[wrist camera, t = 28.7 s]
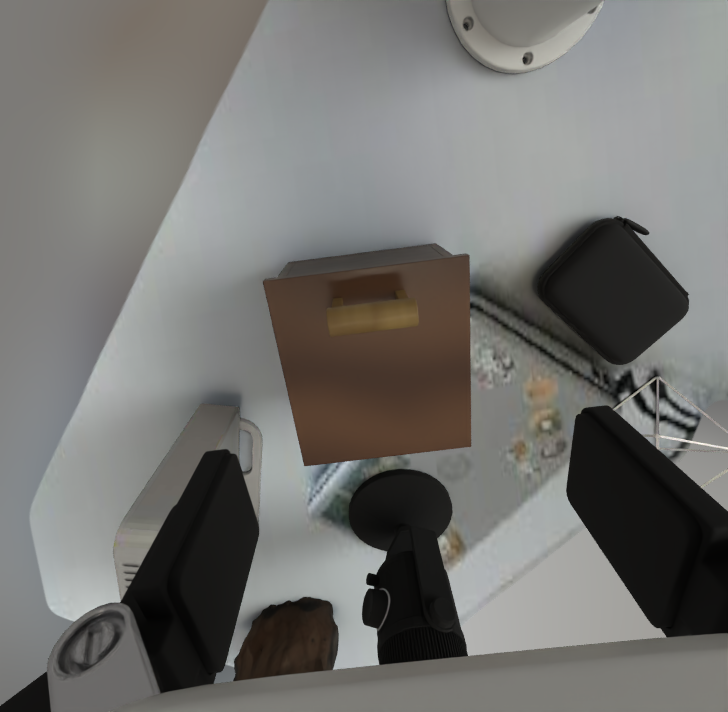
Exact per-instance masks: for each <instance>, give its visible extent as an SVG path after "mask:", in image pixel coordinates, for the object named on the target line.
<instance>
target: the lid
mask: <svg viewBox="0 0 728 712" xmlns="http://www.w3.org/2000/svg"><path fill="white" fill-rule="evenodd" d="M263 285H264V290H265V294H266V298H267V303H268V307H269V312H270V316H271V321H272V325H273V329H274V334H275V338H276V343H277V347H278V352H279V356H280V360H281V365H282V369H283V374H284V378H285V382H286V387H287V391H288V396H289V400H290V405H291V409H292V413H293V418H294V422H295V427H296V431H297V436H298V440H299V444H300V449H301V453H302V458H303V462H304V466H311V465H319V464H328V463H336V462H345V461H353V460H362V459H370V458H379V457H387V456H396V455H404V454H413V453H421V452H430V451H438V450H446V449H455V448H463V447H471V373H470V262H469V255H468V254H458V255H450V256H442V257H434V258H426V259H418V260H411V261H403V262H395V263H387V264H379V265H371V266H363V267H355V268H347V269H339V270H331V271H323V272H316V273H308V274H300V275H292V276H284V277H276V278H268V279H265V280H264V281H263Z"/></svg>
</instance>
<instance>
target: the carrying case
mask: <svg viewBox="0 0 728 712" xmlns="http://www.w3.org/2000/svg"><path fill="white" fill-rule="evenodd" d="M618 217H619V218H618ZM633 230H634V231H636V232H638V233H640V234H643V235H648V234H649V232H648V230H646V229H645V228H643V227H642V226H640V225H638V224H637V223H635V222H633V221H631V220H629V219H626V218H624V219H623V218H621V217H620V216H616V217H614V219H612V218H606V219H601V220H599V221H596V222H595V223H593V224H592V225H591V226H589V227H588V228H587V229H586V230H585V231H584V232H583V234H582V235H581V236H580V237H579V238H578V239H577V240H576V241H575V242H574V243H573V244H572V245H571V246H570V247H569V248H568V249H567V250H566V251H565V252H564V253H563V254H562V255H561V256H560V257H559V258H558V259H557V260H556V261H555V262H554V263H553V264H552V265H551V266H550V267H549V268H548V269H547V270H546V271H545V272H544V273H543V274H542V276H541V277H540V279H539V282H538V294H539V296H540V298H541V299H542V300H543V301H544V302H545V303H546V304H547V305H548V306H549V307H550V308H551V309H552V310H553V311H554V312H555V313H556V314H557V315H559V316H560V317H561V318H562V319H563V320H564V321H565V322H566V323H567V324H568V325H569V326H570V327H571V328H572V329H574V330H575V331H576V332H577V333H578V334H579V335H580V336H581V337H582V338H583V339H584V340H585V341H586V342H587V343H588V344H589V345H591V346H592V347H593V348H594V349H595V350H596V351H597V352H598V353H599V354H600V355H601V356H602V357H603V358H604V359H606V360H607V361H608V362H610V363H612V364H616V365H623V364H627V363H629V362H631V361H633V360H634V359H636V358H637V357H638V356H639V355H641V354H642V353H643V352H644V351H645V350H646V349H648V348H649V347H650V346H651V345H652V344H653V343H655V342H656V341H657V340H658V339H659V338H660V337H662V336H663V335H664V334H665V333H666V332H667V331H669V330H670V329H671V328H672V327H673V326H674V325H676V324H677V323H678V322H679V321H680V320H681V319H682V318H683V317H684V316H685V315H686V313H687V311H688V309H689V299H688V295H689V294H688V293H687V292H686V291H685V290H684V289H683V287H682V286H681V285H680V284H679V283H678V282H677V281H676V279H675V278H674V277H673V276H672V275H671V274H670V273H669V271H668V270H667V269H666V268H665V267H664V266H663V265H662V263H661V262H660V261H659V260H658V259H657V258H656V257H655V255H654V254H653V253H652V252H651V251H650V250H649V248H648V247H647V246H646V245H645V244H644V243H643V242H642V240H641V239H640V238H639V237H638V236H637V235H636V234H635V232H634V231H633Z"/></svg>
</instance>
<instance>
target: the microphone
mask: <svg viewBox="0 0 728 712" xmlns="http://www.w3.org/2000/svg"><path fill="white" fill-rule="evenodd" d="M451 516H452V503H451V500H450V497H449V494H448V492H447V490H446V489H445V487H444V486H443V485H442V484H441V483H440V482H439V481H438V480H437V479H435V478H433V477H432V476H430V475H428V474H425V473H422V472H419V471H414V470H393V471H388V472H384V473H381V474H378V475H376V476H374V477H372V478H370V479H369V480H368V481H366V482H365V483H363V484H362V485H361V486H360V487H359V488H358V490H357V491H356V492H355V494H354V495H353V497H352V499H351V502H350V506H349V520H350V525H351V527H352V529H353V531H354V533H355V534H356V535H357V536H358V538H359V539H361V540H362V541H363V542H364V543H366V544H368V545H370V546H372V547H374V548H377V549H380V550H384V551H387V555H386V560H385V562H384V563H383V564H382V565H381V567H380V568H379V570H378V572H377V575H375V574H371V573H368V575H367V579H366V583H367V585H371V586H374V589H368V591H367V592H366V595H365V597H364V602H363V608H362V619H363V623H364V625H367V626H370V627H373V628H377V636H378V644H377V649H378V659H379V665H385V664H394V663H404V662H414V661H424V660H434V659H444V658H454V657H464V656H468V654H467V649H466V642H465V638H464V635H463V632H462V630H461V627H460V623H459V619H458V615H457V611H456V607H455V603H454V599H453V595H452V591H451V587H450V583H449V579H448V575H447V572H446V570H445V569H444V566H443V562H442V557H441V553H440V549H439V545H438V541H437V538H438V537H439V536H440V535H441V534H442V533H443V532H444V531H445V529H446V528H447V527H448V525H449V523H450V520H451Z"/></svg>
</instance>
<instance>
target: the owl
mask: <svg viewBox="0 0 728 712" xmlns="http://www.w3.org/2000/svg"><path fill="white" fill-rule="evenodd" d="M338 637H339V633H338V626H337V625H336V624H335V622H334V619H333V608H332V604H331V603H330V602H328V601H322V600H320V599H314V598H311V597H308V598H307V597H304V598H302V599H300V600H299V601H296V602H291V601H287V602H285V603H284V604H281V605H278V606H276V605H270V606H269V607H268V608H266V609H264V610H263V611H262V613H261V615H260V616H259V617H258V618H257V619H256V620H254V621H253V622H252V627H251V630H250V631H249V633H248V635H247V637H246V638H245V640H244V642H243V645H242V647H241V649H240V652H239V654H238V655H237V657H236V658H235V659H234V664H235V667H234V669H235V673H236V674H235V678H234V680H233V681H241V680H249V679H257V678H264V677H272V676H281V675H290V674H300V673H309V672H319V671H328V670H333V667H334V663H335V660H336V656H337V651H338V641H339V639H338Z"/></svg>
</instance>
